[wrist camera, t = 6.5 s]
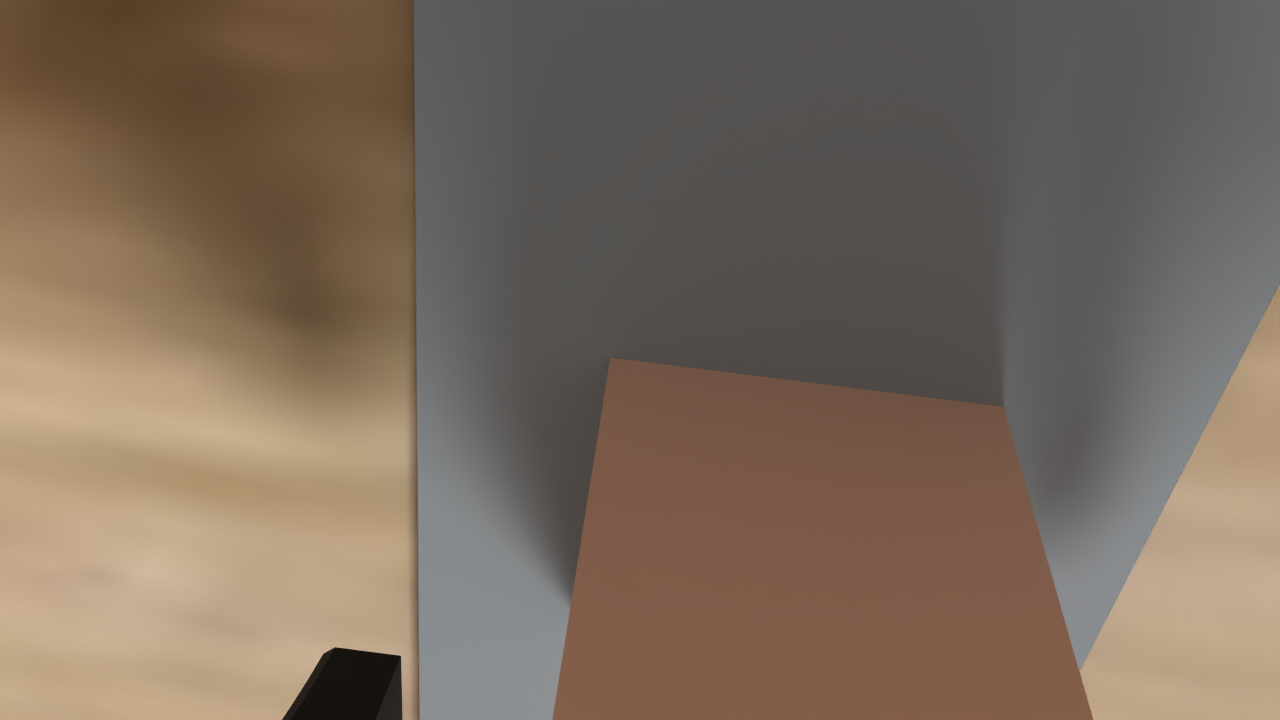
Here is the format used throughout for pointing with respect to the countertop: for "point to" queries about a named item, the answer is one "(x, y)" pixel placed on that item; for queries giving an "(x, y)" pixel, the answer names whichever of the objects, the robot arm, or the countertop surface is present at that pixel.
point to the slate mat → (821, 259)
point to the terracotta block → (808, 559)
